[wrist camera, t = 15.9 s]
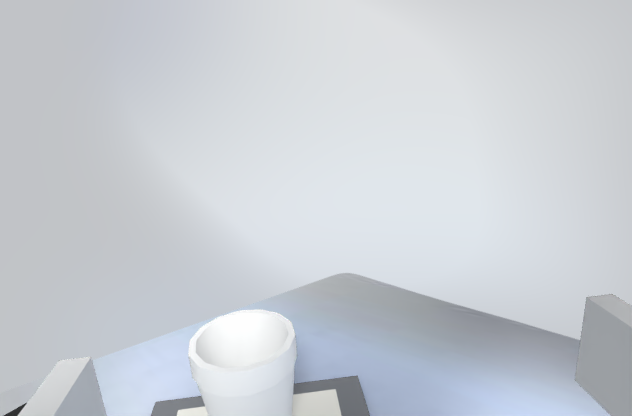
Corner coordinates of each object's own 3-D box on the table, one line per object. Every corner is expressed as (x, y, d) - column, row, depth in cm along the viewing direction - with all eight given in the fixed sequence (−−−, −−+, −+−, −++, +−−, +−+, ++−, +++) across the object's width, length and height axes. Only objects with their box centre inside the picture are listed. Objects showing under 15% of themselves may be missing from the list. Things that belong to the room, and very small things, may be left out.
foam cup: (197, 499, 37) (173, 375, 33) (219, 417, 46) (202, 313, 42) (305, 492, 37) (293, 368, 33) (306, 412, 46) (296, 306, 42)
